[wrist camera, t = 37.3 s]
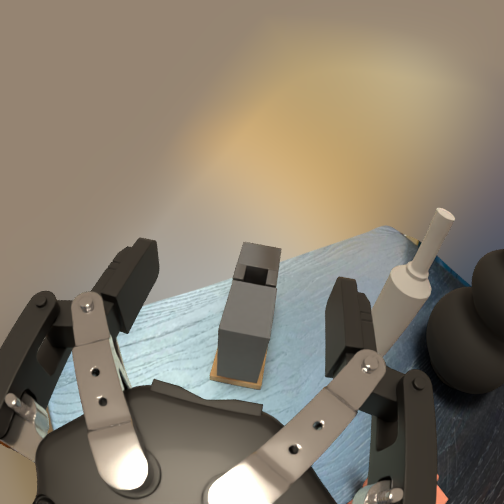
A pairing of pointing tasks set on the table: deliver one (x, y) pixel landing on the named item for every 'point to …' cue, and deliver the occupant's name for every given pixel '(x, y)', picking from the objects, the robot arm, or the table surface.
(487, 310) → the vase
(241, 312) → the grey rectangular block
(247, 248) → the stand
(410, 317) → the bottle
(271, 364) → the table surface
